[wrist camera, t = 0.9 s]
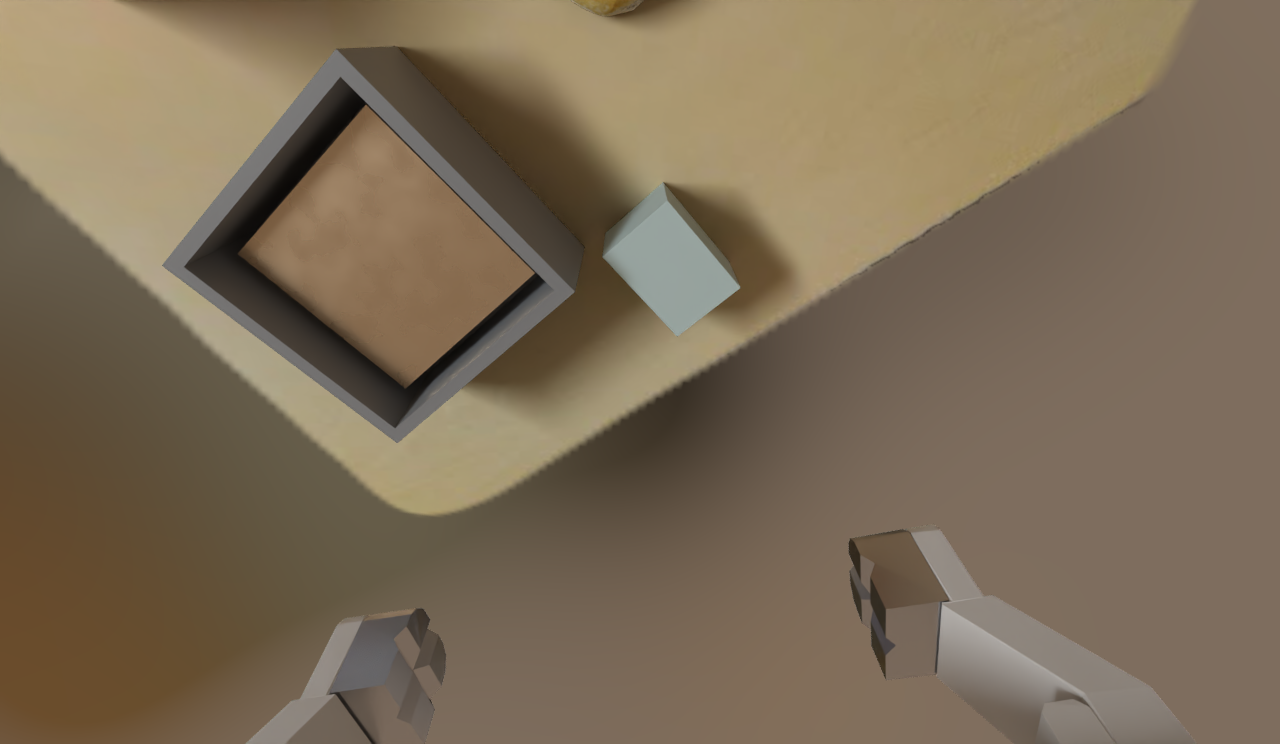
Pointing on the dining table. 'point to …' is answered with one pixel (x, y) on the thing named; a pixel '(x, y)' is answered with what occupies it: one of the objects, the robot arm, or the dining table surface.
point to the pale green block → (669, 260)
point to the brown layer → (385, 251)
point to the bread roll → (608, 6)
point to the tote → (453, 156)
